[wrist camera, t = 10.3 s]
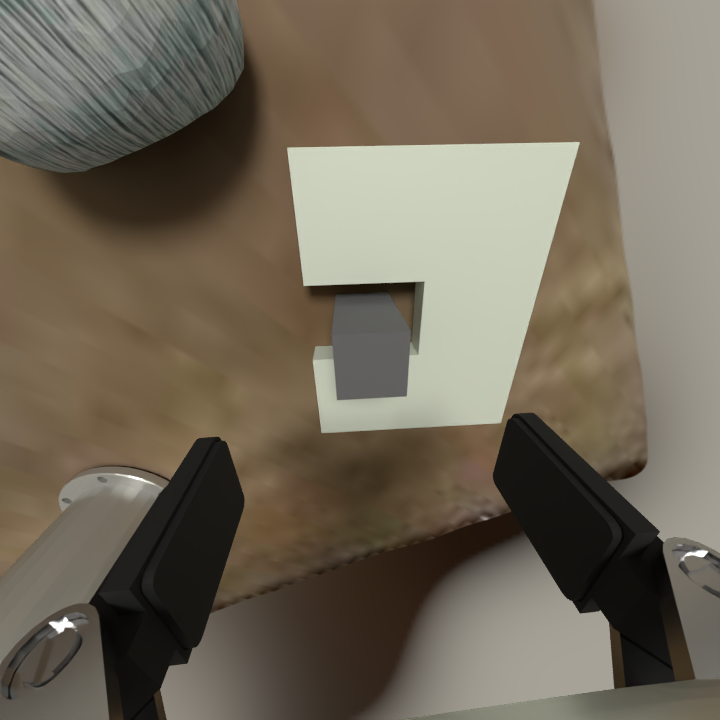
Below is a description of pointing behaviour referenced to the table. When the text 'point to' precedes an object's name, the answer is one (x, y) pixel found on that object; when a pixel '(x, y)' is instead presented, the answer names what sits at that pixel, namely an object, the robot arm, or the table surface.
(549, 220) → the board
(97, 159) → the streaked blue-grey ovoid
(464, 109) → the table surface
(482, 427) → the table surface
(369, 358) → the gray rectangular block
